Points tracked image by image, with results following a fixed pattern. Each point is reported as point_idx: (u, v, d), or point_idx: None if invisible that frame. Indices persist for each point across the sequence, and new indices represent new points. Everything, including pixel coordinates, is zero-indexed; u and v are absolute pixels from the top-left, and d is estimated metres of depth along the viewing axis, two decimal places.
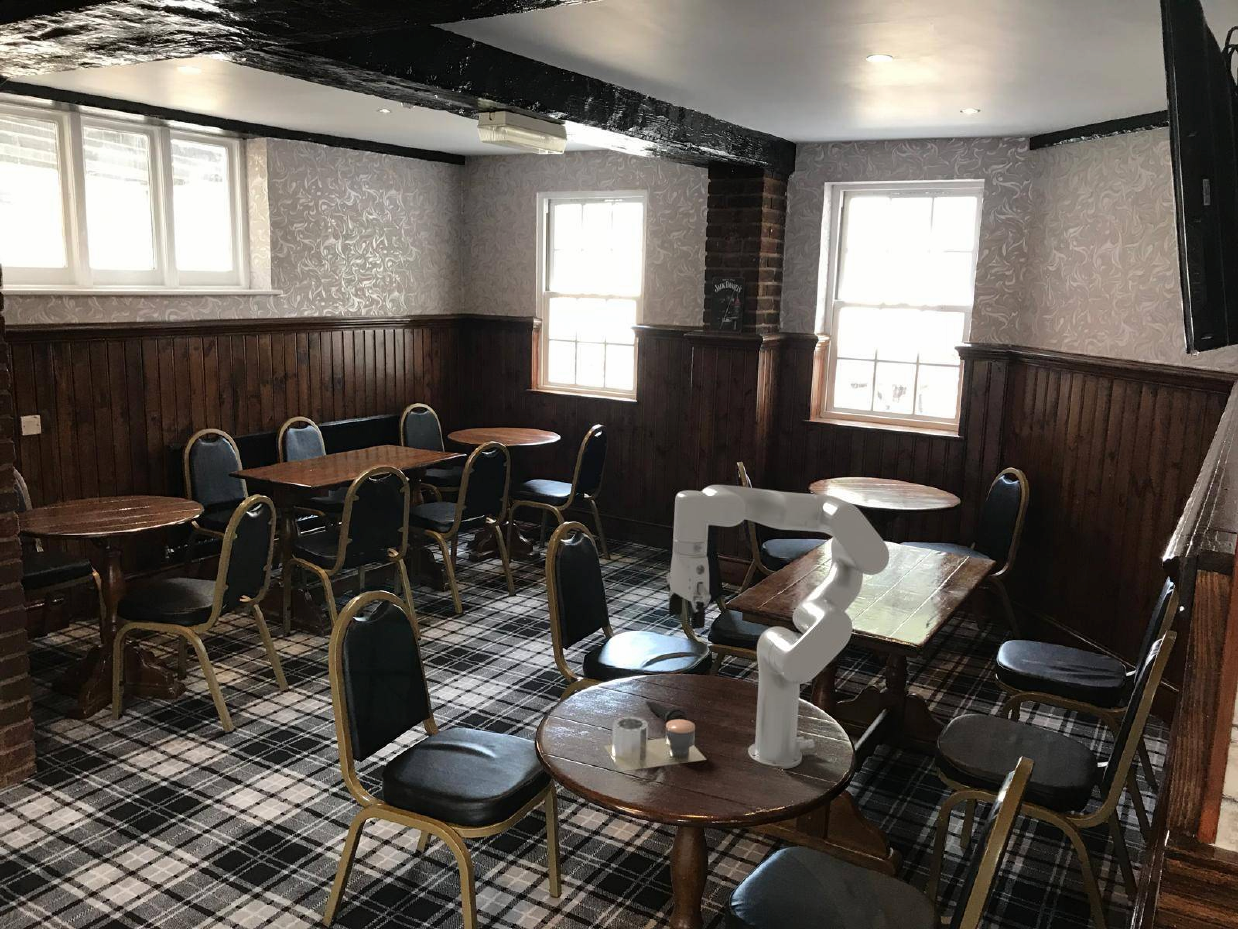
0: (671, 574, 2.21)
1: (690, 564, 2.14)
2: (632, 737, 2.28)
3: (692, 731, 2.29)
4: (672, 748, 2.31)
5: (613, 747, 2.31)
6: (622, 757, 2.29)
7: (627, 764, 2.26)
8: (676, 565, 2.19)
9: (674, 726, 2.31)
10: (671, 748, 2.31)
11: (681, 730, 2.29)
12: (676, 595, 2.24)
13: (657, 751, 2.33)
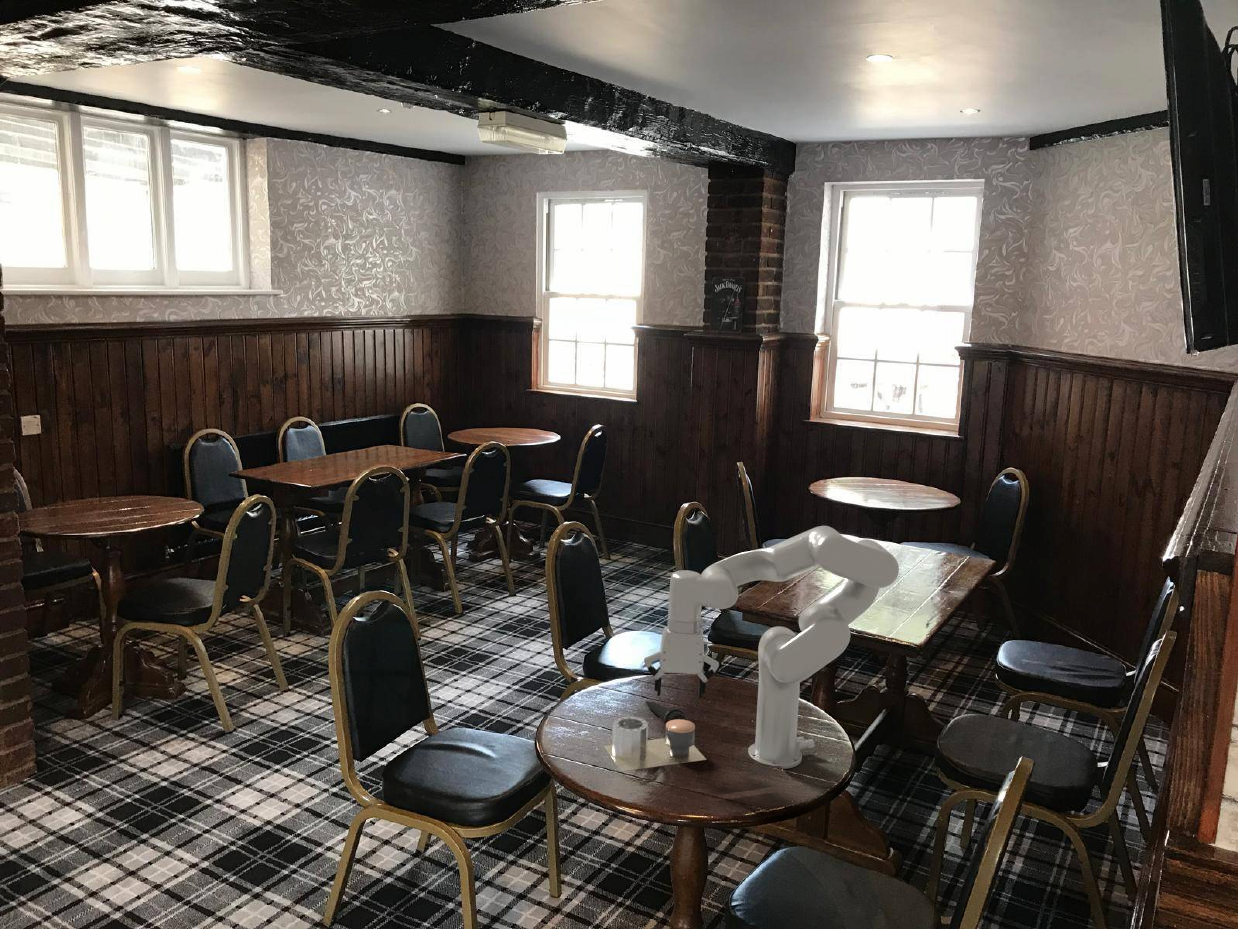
0: (666, 656, 2.26)
1: (700, 640, 2.25)
2: (632, 737, 2.28)
3: (692, 731, 2.29)
4: (672, 748, 2.31)
5: (613, 747, 2.31)
6: (622, 757, 2.29)
7: (627, 764, 2.26)
8: (677, 646, 2.25)
9: (674, 726, 2.31)
10: (671, 748, 2.31)
11: (681, 730, 2.29)
12: None
13: (657, 751, 2.33)
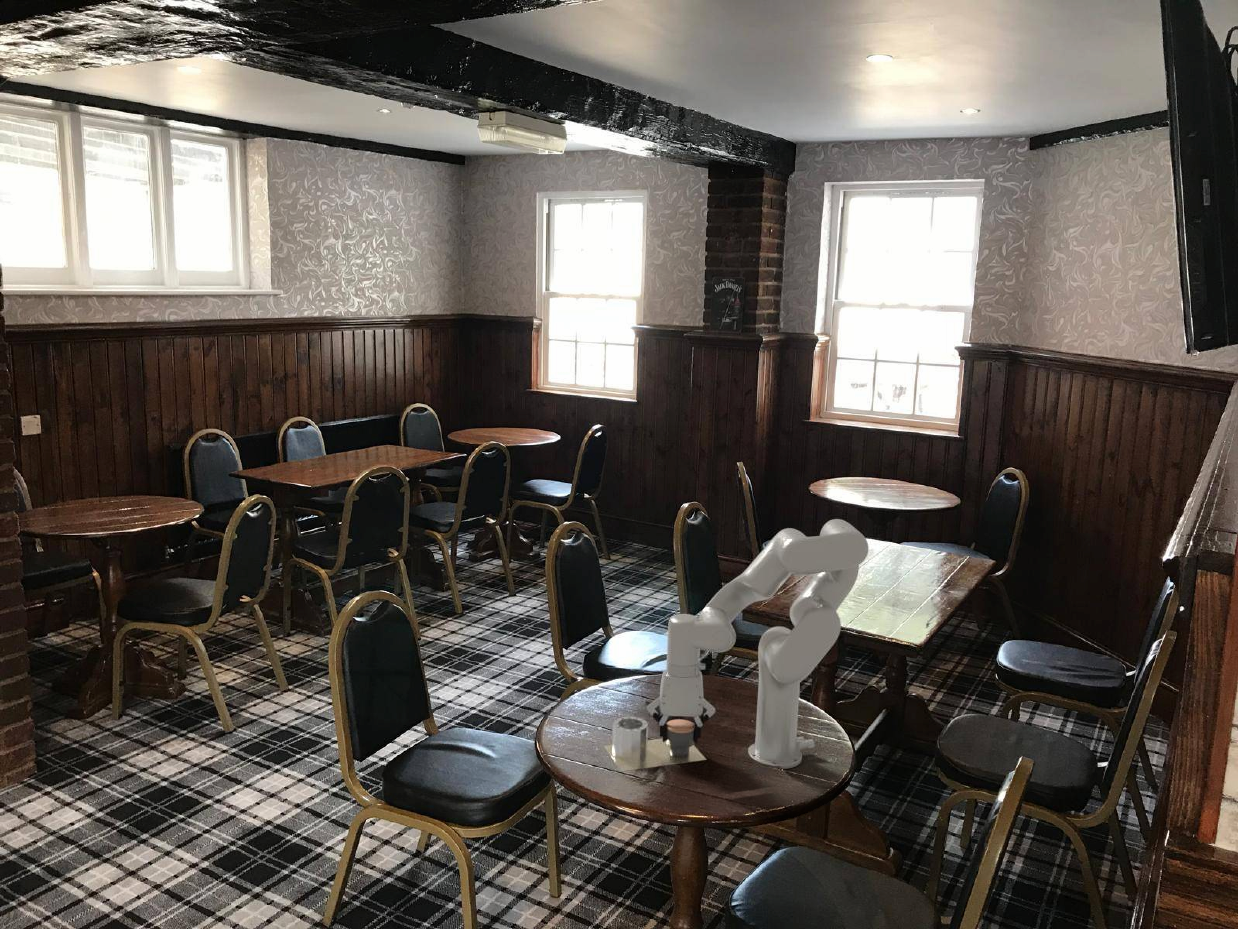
0: (665, 700, 2.28)
1: (699, 683, 2.27)
2: (632, 737, 2.28)
3: (692, 731, 2.29)
4: (672, 748, 2.31)
5: (613, 747, 2.31)
6: (622, 757, 2.29)
7: (627, 764, 2.26)
8: (676, 689, 2.27)
9: (674, 726, 2.31)
10: (671, 748, 2.31)
11: (681, 730, 2.29)
12: None
13: (657, 751, 2.33)
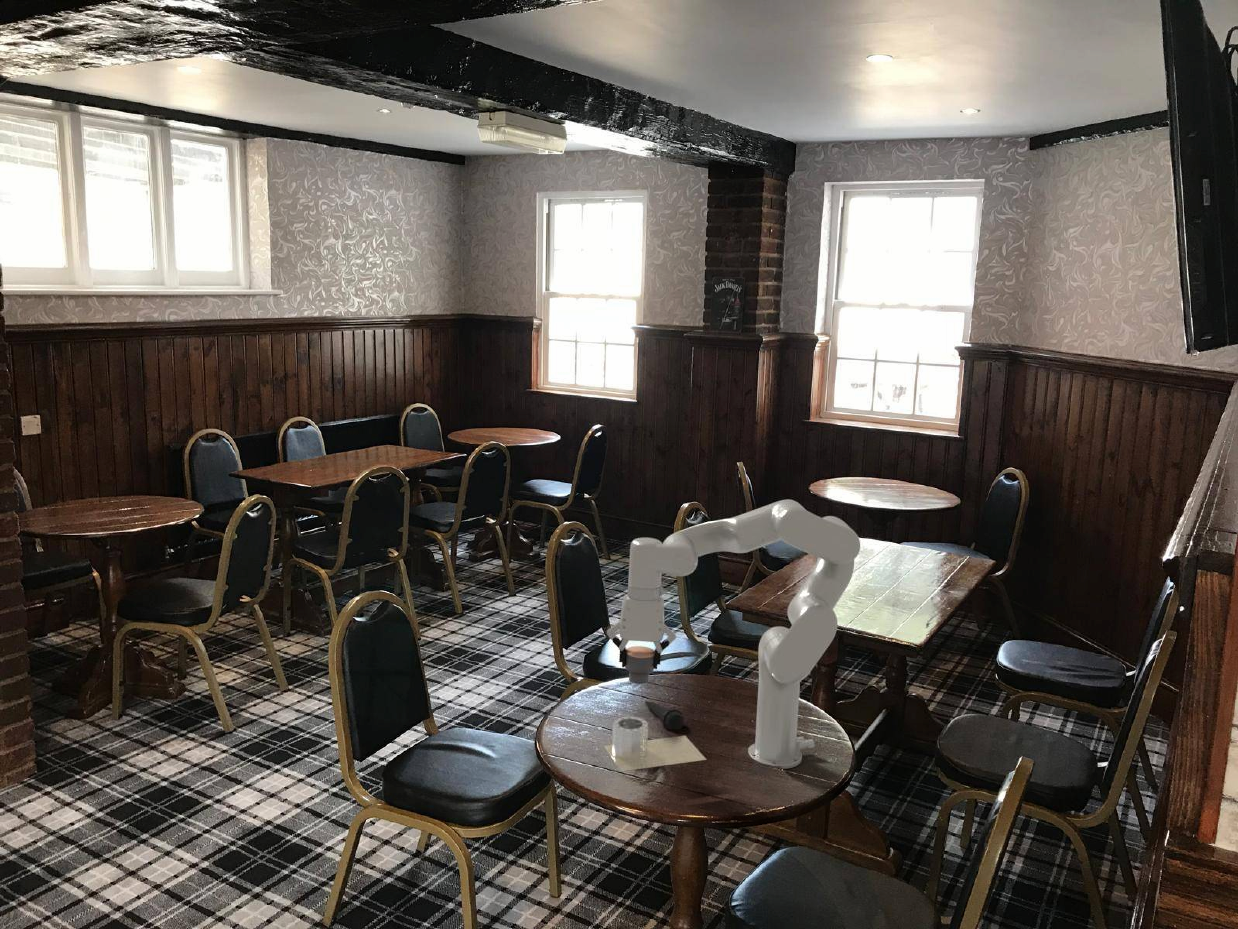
0: (625, 623, 2.25)
1: (660, 607, 2.24)
2: (632, 737, 2.28)
3: (652, 656, 2.26)
4: (631, 674, 2.28)
5: (613, 747, 2.31)
6: (622, 757, 2.29)
7: (627, 764, 2.26)
8: (637, 613, 2.24)
9: (634, 651, 2.28)
10: (630, 674, 2.28)
11: (641, 655, 2.26)
12: None
13: (657, 751, 2.33)
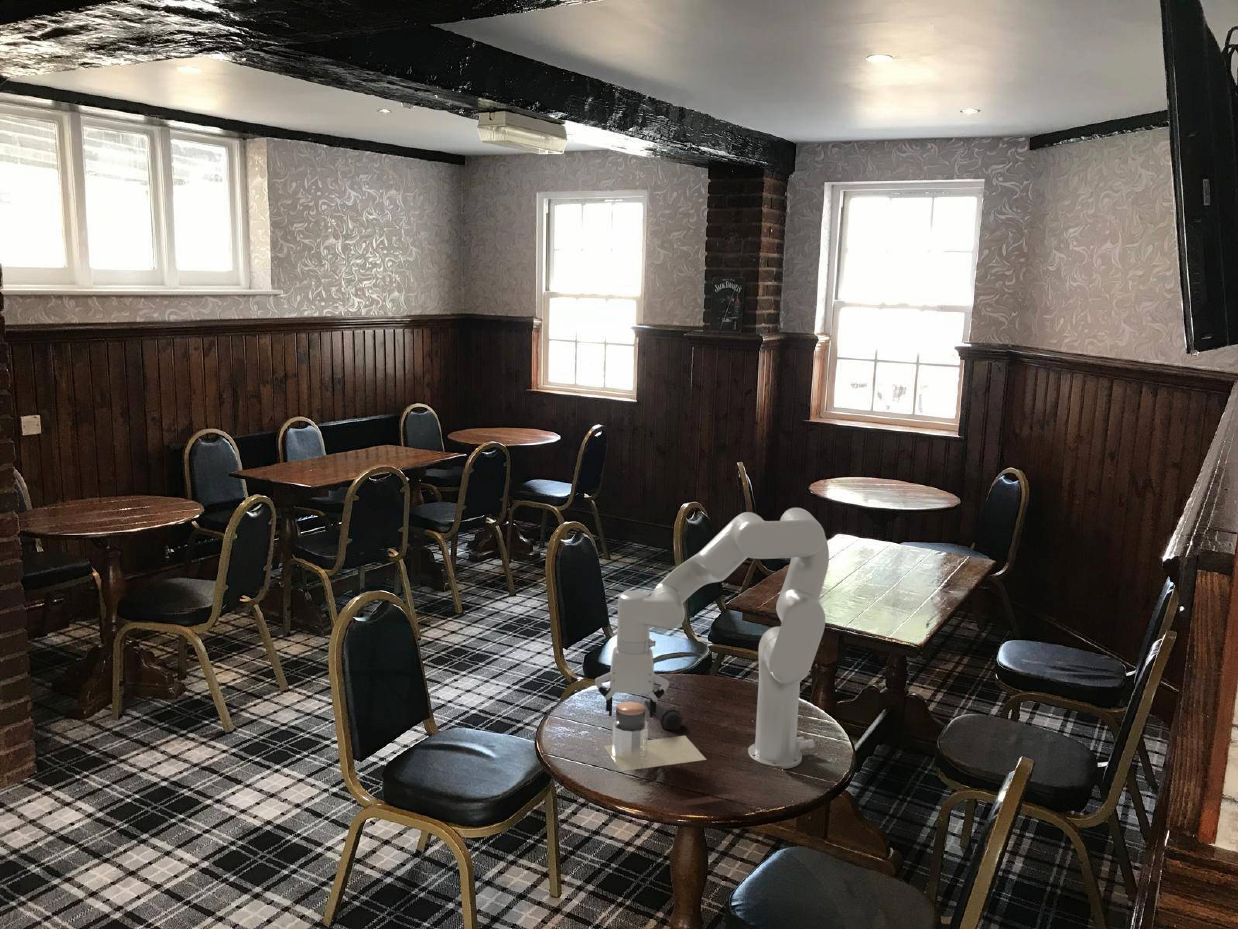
0: (615, 677, 2.27)
1: (649, 660, 2.26)
2: (632, 737, 2.28)
3: (642, 713, 2.29)
4: None
5: (613, 747, 2.31)
6: (622, 757, 2.29)
7: (627, 764, 2.26)
8: (626, 666, 2.26)
9: (624, 708, 2.30)
10: None
11: (631, 712, 2.28)
12: None
13: (657, 751, 2.33)
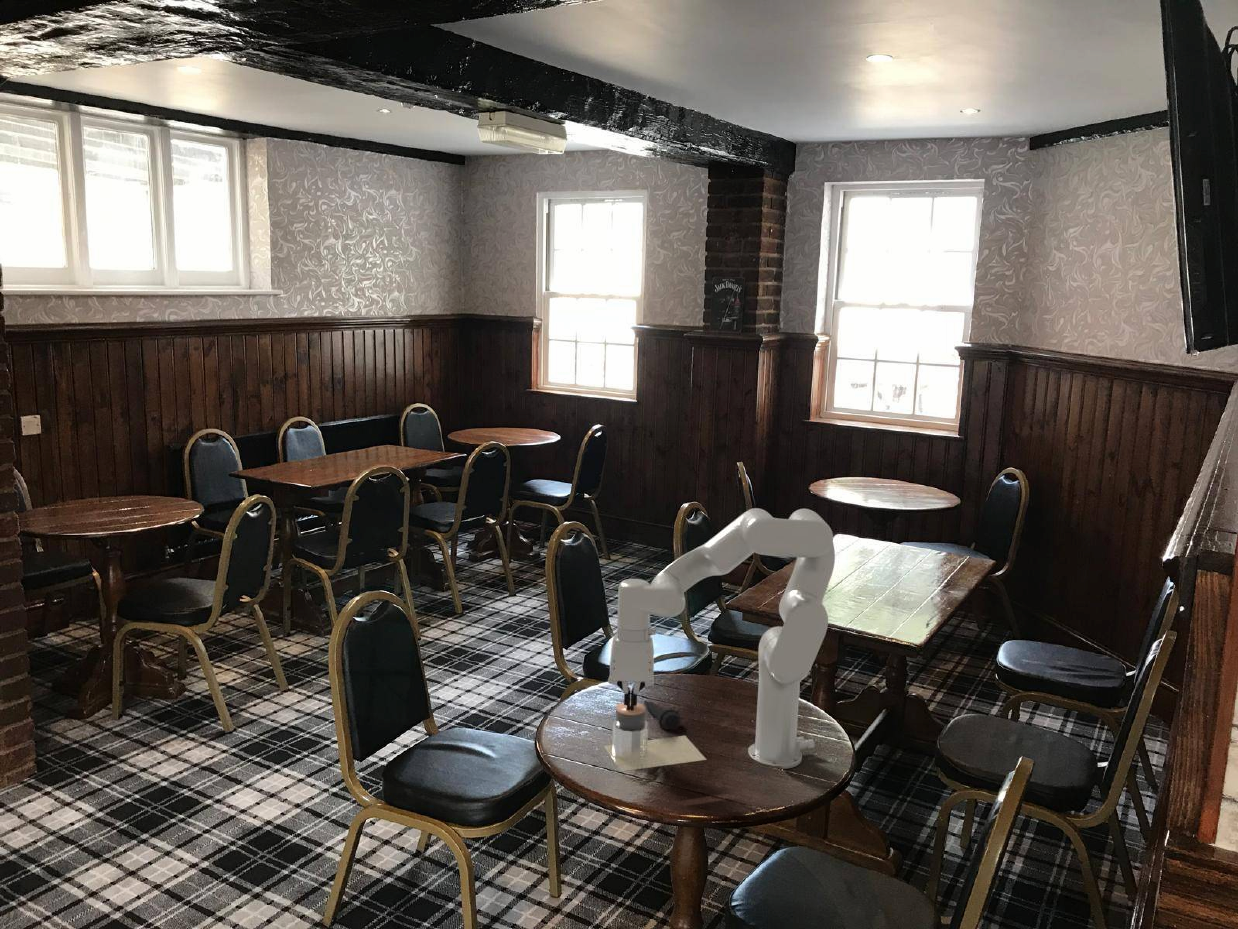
0: (615, 665, 2.27)
1: (649, 648, 2.26)
2: (632, 737, 2.28)
3: (642, 713, 2.29)
4: None
5: (613, 747, 2.31)
6: (622, 757, 2.29)
7: (627, 764, 2.26)
8: (626, 654, 2.26)
9: (624, 708, 2.30)
10: None
11: (631, 712, 2.28)
12: (629, 689, 2.30)
13: (657, 751, 2.33)
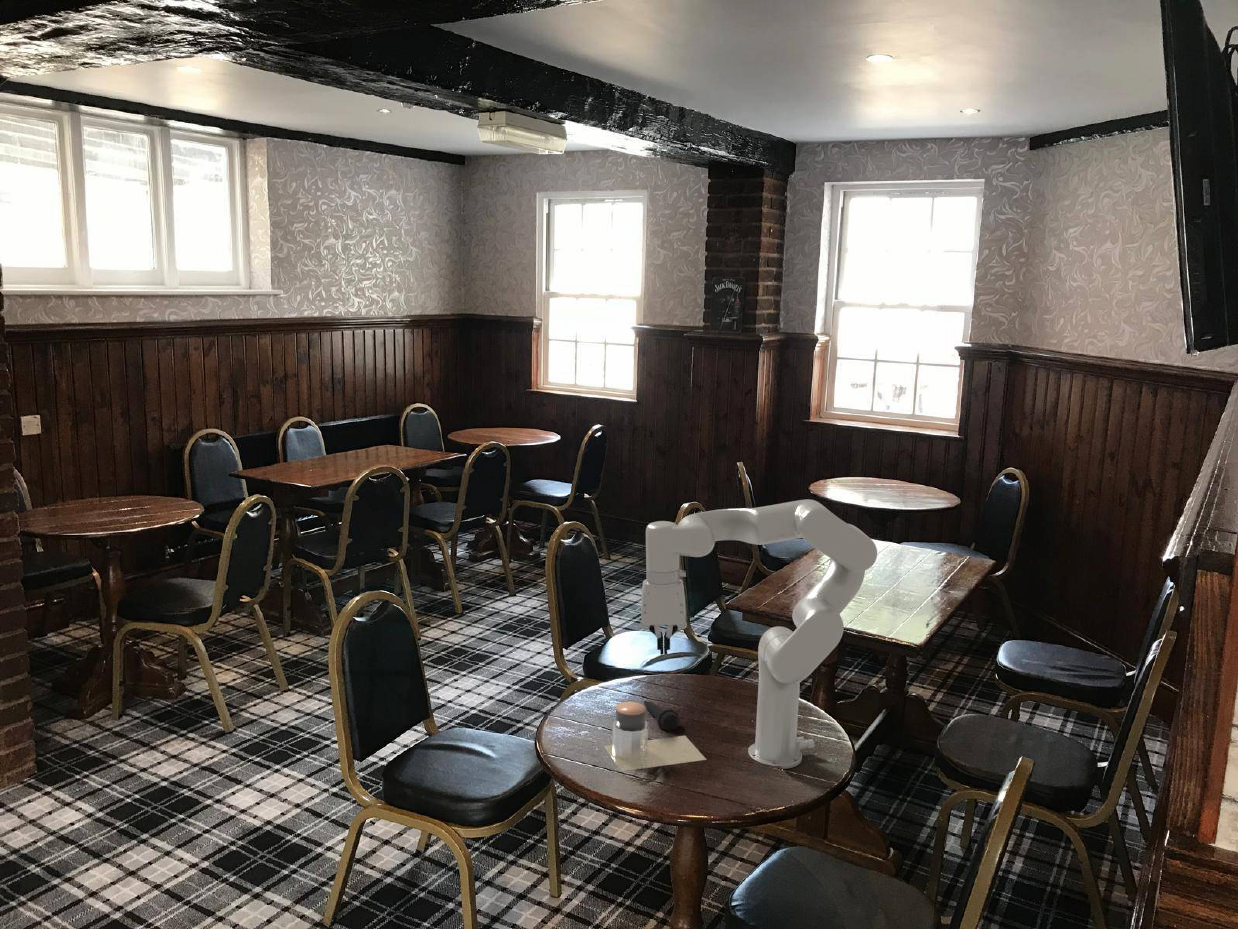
0: (646, 609, 2.24)
1: (680, 590, 2.23)
2: (632, 737, 2.28)
3: (642, 713, 2.29)
4: None
5: (613, 747, 2.31)
6: (622, 757, 2.29)
7: (627, 764, 2.26)
8: (657, 597, 2.23)
9: (624, 708, 2.30)
10: None
11: (631, 712, 2.28)
12: (661, 633, 2.27)
13: (657, 751, 2.33)
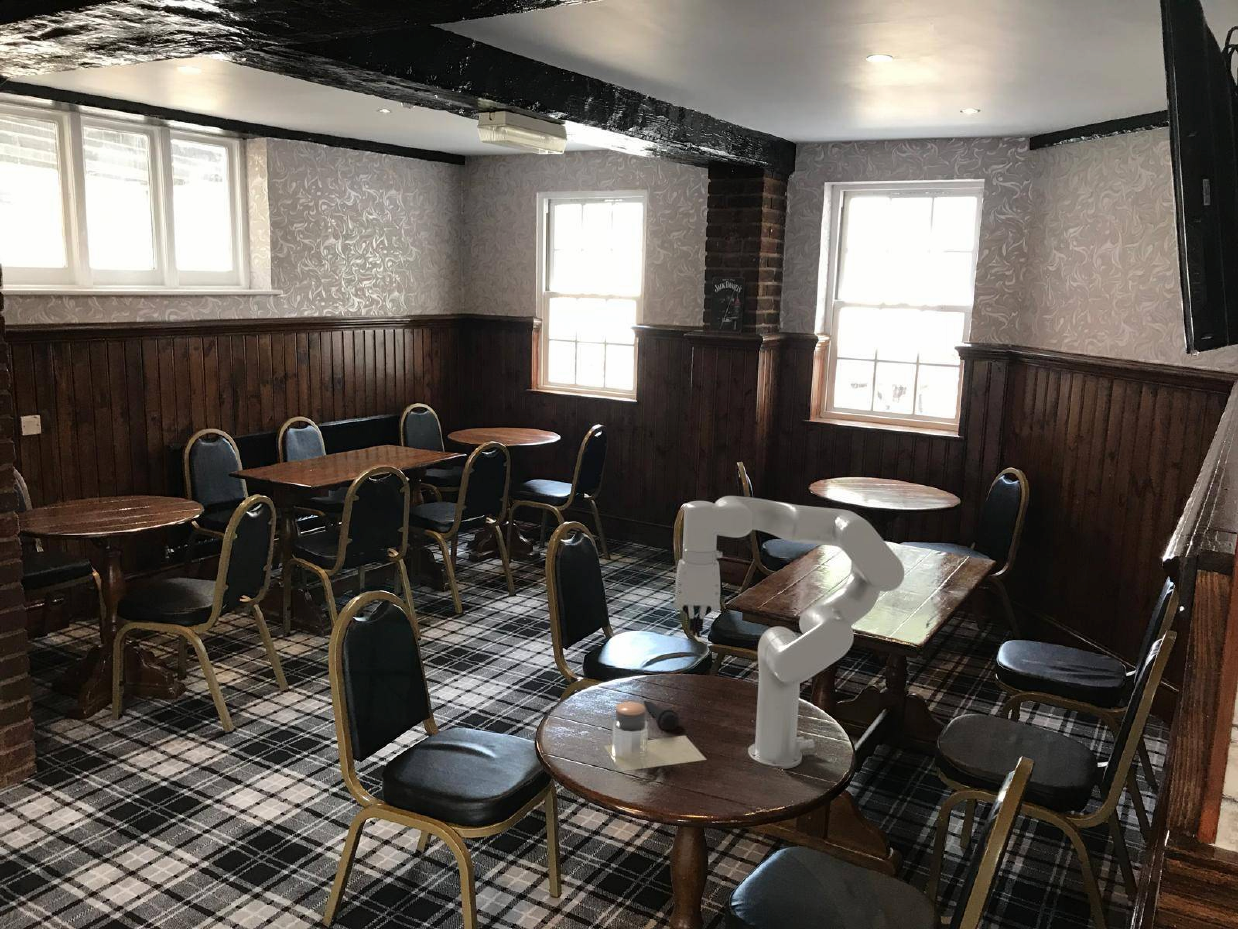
0: (681, 588, 2.22)
1: (716, 571, 2.21)
2: (632, 737, 2.28)
3: (642, 713, 2.29)
4: None
5: (613, 747, 2.31)
6: (622, 757, 2.29)
7: (627, 764, 2.26)
8: (693, 577, 2.21)
9: (624, 708, 2.30)
10: None
11: (631, 712, 2.28)
12: (694, 614, 2.25)
13: (657, 751, 2.33)
